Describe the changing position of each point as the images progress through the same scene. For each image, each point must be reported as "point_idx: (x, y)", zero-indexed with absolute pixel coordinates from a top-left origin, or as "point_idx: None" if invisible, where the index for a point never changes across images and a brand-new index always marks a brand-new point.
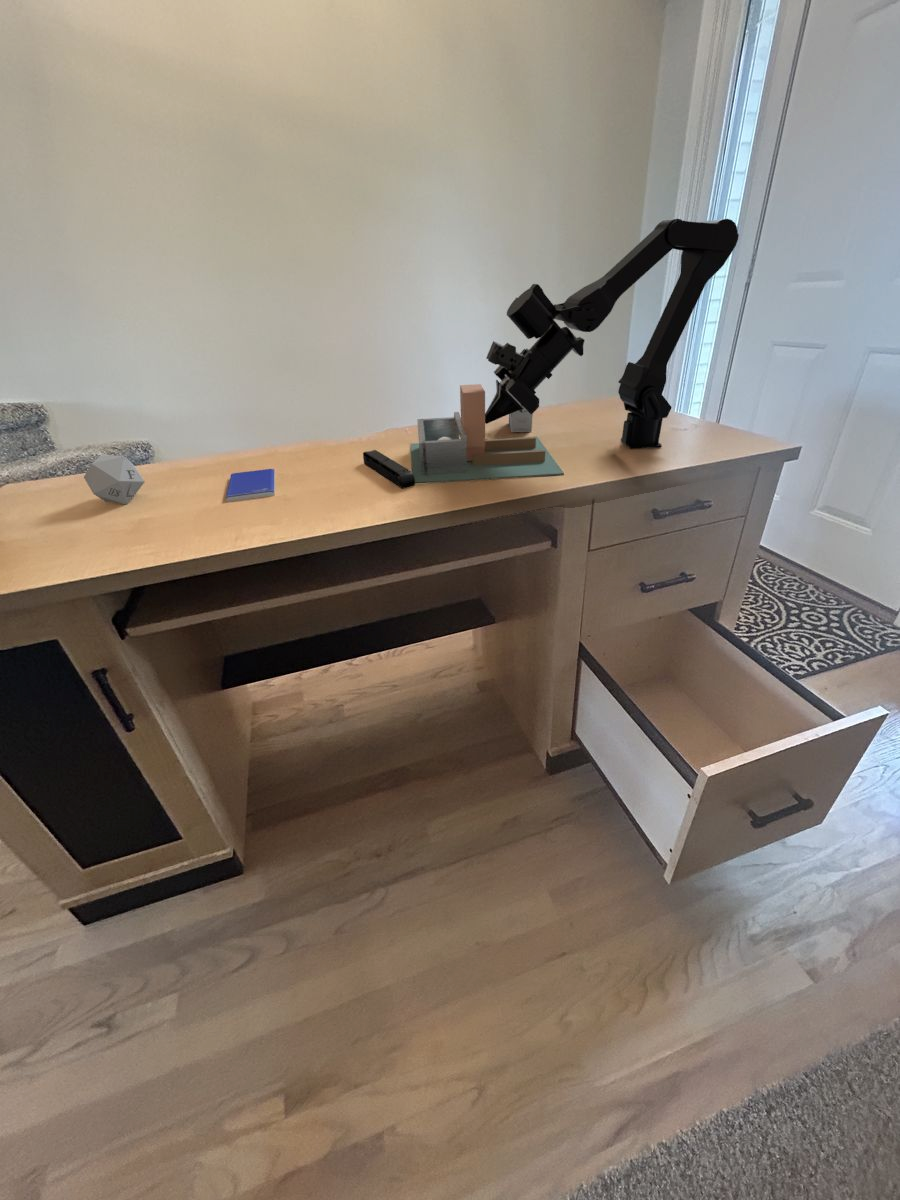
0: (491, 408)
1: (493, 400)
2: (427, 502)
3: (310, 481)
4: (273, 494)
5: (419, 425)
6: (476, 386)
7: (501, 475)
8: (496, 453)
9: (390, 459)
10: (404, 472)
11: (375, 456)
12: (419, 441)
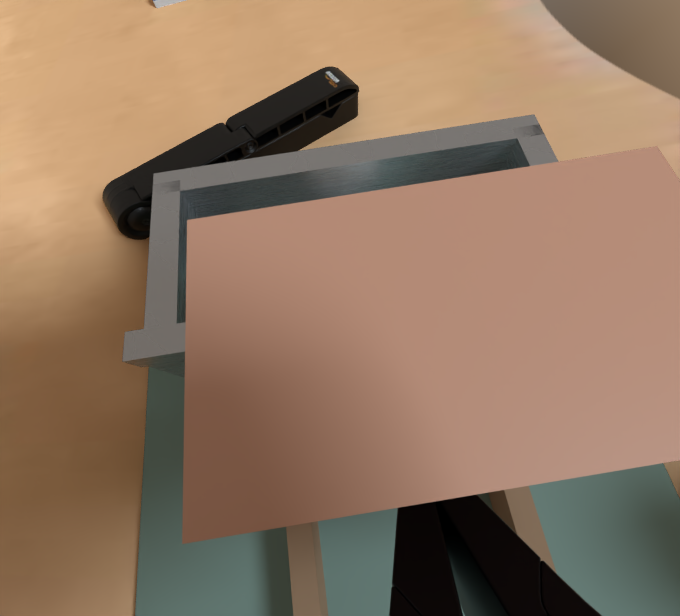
0: (396, 557)
1: (537, 609)
2: (12, 290)
3: (224, 35)
4: (155, 4)
5: (427, 137)
6: (622, 366)
7: (157, 532)
8: None
9: (245, 138)
10: (118, 193)
11: (278, 98)
12: (179, 171)
